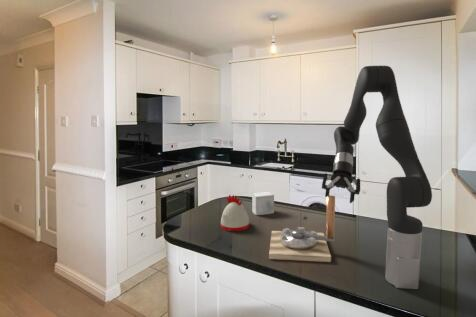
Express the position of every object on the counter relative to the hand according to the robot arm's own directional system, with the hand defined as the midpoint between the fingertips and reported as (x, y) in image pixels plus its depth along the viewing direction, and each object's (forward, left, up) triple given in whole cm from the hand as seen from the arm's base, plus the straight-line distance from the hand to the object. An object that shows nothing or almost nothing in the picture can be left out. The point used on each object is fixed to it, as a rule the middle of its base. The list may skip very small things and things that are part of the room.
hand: (339, 200), depth 116 cm
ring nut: (-2, +12, -17) cm, 21 cm away
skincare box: (+40, +32, -20) cm, 55 cm away
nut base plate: (-1, +15, -19) cm, 25 cm away
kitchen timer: (+20, +44, -20) cm, 52 cm away
